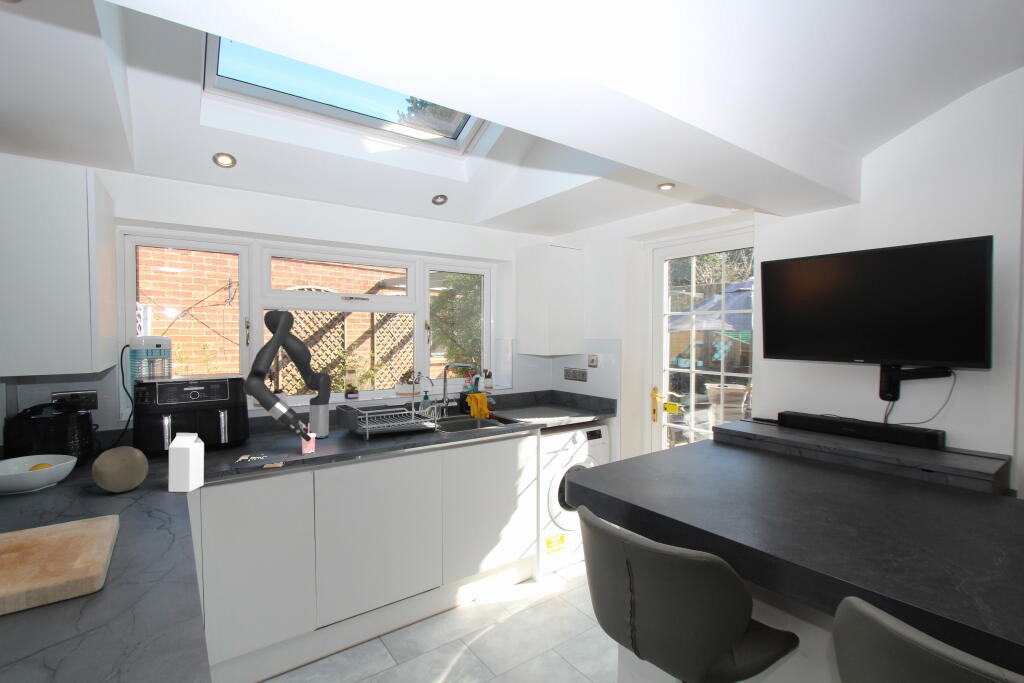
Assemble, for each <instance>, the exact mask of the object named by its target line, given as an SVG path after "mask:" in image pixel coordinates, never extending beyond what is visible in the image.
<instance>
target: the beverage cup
mask: <svg viewBox="0 0 1024 683" xmlns="http://www.w3.org/2000/svg"><path fill="white" fill-rule="evenodd" d="M307 427H308V433H307V434H308V435H309V436H310V437H311V440H310V441H309V442H307V441H306V440H305V439H304V438H302V437H301V446H302V447H301V448H302V450H301V451H302V454H303V453H311V452H314V453H315V448H316V447H315V446H316V439H315V437H316V434H315V433H309V422H308V423H307Z"/></svg>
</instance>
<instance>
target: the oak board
mask: <svg viewBox="0 0 1024 683" xmlns="http://www.w3.org/2000/svg"><path fill="white" fill-rule="evenodd" d="M250 455H251V454H249V455H248V454H246V455H245V454H244V455H242V456H240V457H239V459H238V460H237V461H236V462H238V461H241V460H242V459H248V457H249V456H250ZM263 457H267V456H263ZM263 457H262V458H261V457H251V458H250V459H252V460H253V459H254V460H256V458H258V459H259V458H260V459H264V458H263ZM250 459H249V460H248V461H250ZM283 466H284V464H283V462H280V463H274V464H266V465H264V467H263V468H277V467H278V468H279V467H280V468H281V467H283Z"/></svg>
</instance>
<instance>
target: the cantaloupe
mask: <svg viewBox="0 0 1024 683" xmlns="http://www.w3.org/2000/svg"><path fill="white" fill-rule="evenodd" d="M148 472H149V460H148V459H147V457H146V455H145V454H144V453H143V451H141V450H140V449H138V448H135V447H133V446H127V445H126V446H125V445H123V446H118V447H114V448H110V449H107V450H105V451H103V452H102V453H101V454H99V455H98V457H97V458H96V459H95V460H94V462H93V464H92V467H91V475H92V479H93V481H94V482H95V483H96V485H97V486H99V487H100V488H102V489H103V490H105V491H107V492H112V493H125V492H129V491H131V490H134V489H135V488H136V487H138V486H139V485H141V483H142V482H143V481H144V480H146V477H147V475H148Z"/></svg>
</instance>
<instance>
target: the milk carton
mask: <svg viewBox="0 0 1024 683" xmlns="http://www.w3.org/2000/svg"><path fill="white" fill-rule="evenodd" d="M204 456H205V443H204V441H203V440H202V439H201V438H200V437H199V436H198V433H197V432H195V433H193V432H192V433H191V432H176V436H175V438H174V439H173V440H172V442H171V443H170V445H169V446H168V492H171V493H172V492H173V493H174V492H175V493H190V492H192V491H194V490H196V489H199V488H200V487H201V488H202V487H203V486H204V480H205V477H204V476H205V474H204V472H205V470H204V468H205V463H204V462H205V460H204V459H205V458H204Z"/></svg>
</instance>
